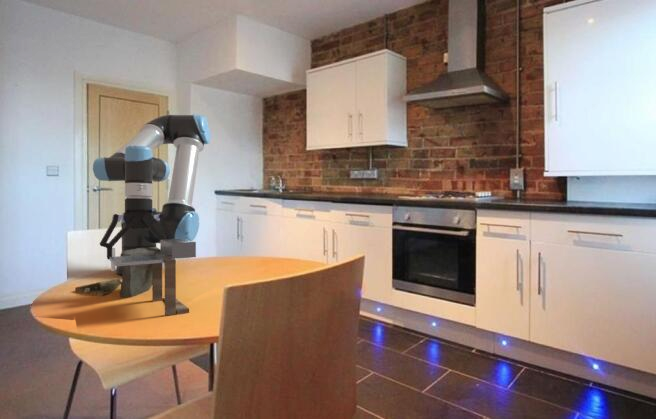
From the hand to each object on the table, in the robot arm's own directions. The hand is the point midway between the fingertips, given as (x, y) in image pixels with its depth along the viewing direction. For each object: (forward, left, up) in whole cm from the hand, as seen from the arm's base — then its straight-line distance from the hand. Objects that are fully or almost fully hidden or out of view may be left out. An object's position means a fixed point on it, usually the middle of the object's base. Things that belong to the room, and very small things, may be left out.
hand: (138, 268), depth 121 cm
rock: (-12, -14, -10) cm, 21 cm away
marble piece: (0, 0, -9) cm, 9 cm away
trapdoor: (+18, +3, +5) cm, 19 cm away
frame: (+18, +3, -9) cm, 20 cm away
